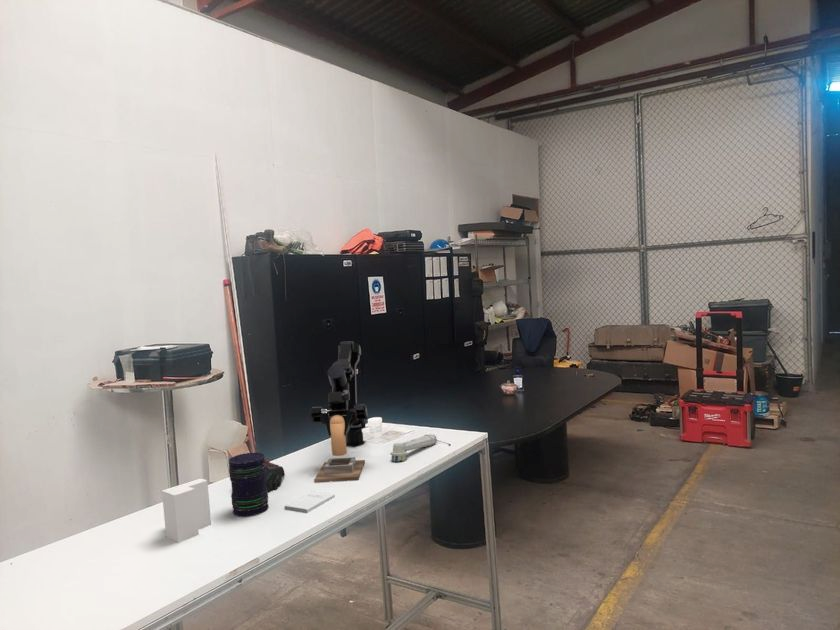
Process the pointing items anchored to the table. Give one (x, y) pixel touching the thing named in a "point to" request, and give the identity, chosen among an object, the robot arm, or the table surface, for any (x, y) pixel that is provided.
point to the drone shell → (273, 476)
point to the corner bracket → (186, 509)
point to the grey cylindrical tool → (411, 446)
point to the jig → (340, 470)
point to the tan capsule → (338, 435)
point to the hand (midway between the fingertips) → (337, 435)
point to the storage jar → (248, 484)
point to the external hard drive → (309, 501)
